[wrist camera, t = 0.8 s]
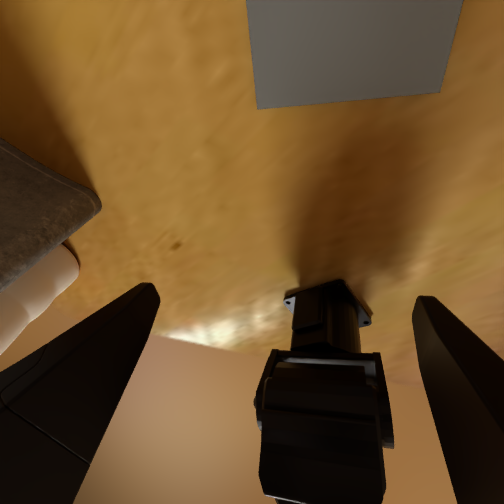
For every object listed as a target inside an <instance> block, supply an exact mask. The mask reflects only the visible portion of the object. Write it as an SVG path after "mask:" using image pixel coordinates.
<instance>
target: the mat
mask: <svg viewBox="0 0 504 504" xmlns="http://www.w3.org/2000/svg"><path fill="white" fill-rule="evenodd" d="M462 4H463V0H246V5H247V15H248V24H249V34H250V43H251V53H252V63H253V72H254V82H255V92H256V101H257V109H268V108H279V107H289V106H300V105H311V104H322V103H332V102H343V101H354V100H365V99H375V98H386V97H397V96H408V95H418V94H429V93H440V90H441V87H442V83H443V79H444V75H445V71H446V67H447V63H448V59H449V55H450V51H451V47H452V43H453V39H454V35H455V31H456V27H457V23H458V19H459V15H460V11H461V8H462Z"/></svg>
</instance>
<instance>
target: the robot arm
mask: <svg viewBox="0 0 504 504" xmlns="http://www.w3.org/2000/svg"><path fill="white" fill-rule="evenodd" d="M339 284H341V285H339ZM283 303H284V305H285V306H286V307H287V308H288V309H289V310H290V311H291V313H292V314H293V320H292V330H293V331H292V340H291V348H290V350H291V351H286V350H279V349H272V351H271V353H270V356H269V357H268V360H267V363H266V366H265V368H264V371H263V374H262V377H261V379H260V382H259V385H258V388H257V391H256V396H255V398H254V406H255V408H256V416H257V424H258V427H259V429H260V430H261V433H262V434H261V452H260V462H259V479H260V482H261V485H262V489H263V492H264V494H265V496H268V497H273V498H275V500H276V502H277V504H381V503H382V501H383V495H384V493H385V490H386V478H385V468H384V459H383V449H382V447H384V448H390V449H394V435H393V424H392V416H391V409H390V402H389V396H388V391H387V386H386V380H385V375H384V370H383V365H382V360H381V355H380V352H373V353H361V344H360V334H359V328H360V327H364V326H369V325H371V323H372V322H371V318H370V316H369V315H368V314H367V312H366V311H365V309H364V308H363V306H362V305H361V304H360V302H359V301H358V299H357V298H356V296H355V295H354V294H353V292H352V291H351V289H350V288H349V287H348V285H347V284H346V282H345V281H344V280H342V279H338V280H335V281H332V282H329V283H326V284H323V285H320V286H317V287H314V288H311V289H308V290H305V291H302V292H299V293H296V294H293V295H290V296H287V297H285V298H284V301H283ZM159 305H160V296H159V294H158V292H157V290H156V288H155V286H154V285H153V284H152V283H147V282H142V283H140V284H138V285H137V286H135V287H134V288H132V289H130V290H129V291H127V292H126V293H124V294H123V295H121V296H120V297H118V298H117V299H115V300H113V301H112V302H110V303H109V304H107V305H106V306H104V307H103V308H101V309H99V310H98V311H96V312H95V313H93V314H92V315H90V316H89V317H87V318H86V319H84V320H82V321H81V322H79V323H78V324H76V325H75V326H73V327H72V328H70V329H69V330H67V331H66V332H64V333H62V334H61V335H59V336H58V337H56V338H55V339H53V340H52V341H50V342H49V343H47V344H45V345H44V346H42V347H41V348H39V349H37V350H36V351H34V352H33V353H31V354H30V355H28V356H27V357H25V358H23V359H22V360H20V361H18V362H17V363H15V364H13V365H12V366H10V367H8V368H7V369H5V370H3V371H1V372H0V504H73V502H74V500H75V497H76V495H77V493H78V491H79V489H80V486H81V484H82V482H83V480H84V478H85V476H86V473H87V471H88V469H89V467H90V464H91V462H92V460H93V458H94V456H95V453H96V451H97V449H98V447H99V445H100V442H101V440H102V438H103V436H104V434H105V432H106V429H107V427H108V425H109V423H110V421H111V418H112V416H113V414H114V412H115V410H116V408H117V405H118V403H119V401H120V399H121V396H122V394H123V392H124V390H125V388H126V386H127V383H128V381H129V379H130V377H131V375H132V373H133V371H134V368H135V366H136V364H137V362H138V360H139V357H140V355H141V353H142V351H143V349H144V347H145V344H146V342H147V340H148V337H149V334H150V332H151V329H152V326H153V323H154V320H155V317H156V314H157V311H158V308H159ZM412 323H413V330H414V336H415V343H416V349H417V356H418V362H419V368H420V372H421V376H422V380H423V384H424V387H425V391H426V394H427V398H428V401H429V405H430V408H431V412H432V415H433V419H434V422H435V426H436V430H437V433H438V436H439V440H440V443H441V447H442V451H443V454H444V457H445V461H446V465H447V468H448V472H449V476H450V479H451V483H452V486H453V490H454V493H455V496H456V500H457V504H504V361H503V359H502V358H500V357H499V356H498V355H497V354H496V353H495V352H494V351H493V350H492V349H491V348H490V347H489V346H487V345H486V344H485V343H484V342H483V341H482V340H481V339H480V338H479V337H478V336H477V335H476V334H475V333H473V332H472V331H471V330H470V329H469V328H468V327H467V326H466V325H465V324H464V323H463V322H462V321H461V320H459V319H458V318H457V317H456V316H455V315H454V314H453V313H452V312H451V311H450V310H449V309H448V308H446V307H445V306H444V305H443V304H442V303H441V302H440V301H439V300H438V299H437V298H435V297H434V296H418V297H417V299H416V303H415V306H414V310H413V313H412Z"/></svg>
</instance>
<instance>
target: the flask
mask: <svg viewBox="0 0 504 504" xmlns="http://www.w3.org/2000/svg"><path fill="white" fill-rule="evenodd" d="M101 207H102V206H101V202H100V200H99V198H98V196H97V195H96V194H95V193H94V192H93V191H91V190H90V189H88V188H86V187H84V186H82V185H80V184H78V183H76V182H74V181H71V180H69V179H67V178H66V177H64V176H62V175H60V174H58V173H56V172H54V171H53V170H51V169H49V168H47V167H46V166H44V165H42V164H41V163H39V162H37V161H36V160H34V159H32V158H31V157H29V156H28V155H26V154H24V153H23V152H21V151H20V150H18V149H17V148H15V147H14V146H12V145H11V144H9V143H8V142H6V141H5V140H3V139H2V138H0V293H1V292H2V291H3V290H5V289H6V288H7V287H8V286H10V285H11V284H12V283H13V282H14V281H16V280H17V279H18V278H19V277H20V276H22V275H23V274H24V273H25V272H27V271H28V270H29V269H30V268H31V267H33V266H34V265H35V264H36V263H38V262H39V261H40V260H41V259H42V258H44V257H45V256H46V255H47V254H49V253H50V252H51V251H52V250H53V249H55V248H56V247H57V246H58V245H60V244H61V243H62V242H63V241H64V240H66V239H67V238H68V237H69V236H71V235H72V234H73V233H74V232H75V231H77V230H78V229H79V228H80V227H82V226H83V225H84V224H85V223H86V222H88V221H89V220H90V219H91V218H93V217H94V216H95V215H96V214H97V213H99V212H100V211H101Z"/></svg>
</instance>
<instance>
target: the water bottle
mask: <svg viewBox="0 0 504 504" xmlns="http://www.w3.org/2000/svg"><path fill="white" fill-rule="evenodd" d="M78 275H79V265H78V262H77V260H76V258H75V257H74V256H73V254H72V253H71V252H70V251H69V250H68V249H67V248H66V247H65V246H64V245H62V244H60V245H58V246H57V247H56V248H55V249H53V250H52V251H51V252H50V253H49V254H47V255H46V256H45V257H44V258H42V259H41V260H40V261H39V262H38V263H36V264H35V265H34V266H33V267H31V268H30V269H29V270H28V271H27V272H25V273H24V274H23V275H22V276H20V277H19V278H18V279H17V280H16V281H14V282H13V283H12V284H11V285H10V286H8V287H7V288H6V289H5V290H3V291H2V292H1V293H0V355H1V354H2V353H3V352H4V351H5V350H6V349H7V348H8V346H9V345H10V344H11V343H12V342H13V341H14V340H15V339H16V338H17V337H18V335H19V334H20V333H21V332H22V331H23V329H24V328H25V327H26V326H27V325H28V323H30V322H31V321H33V320H34V319H35V318H37V317H38V316H39V315H40V314H42V312H43V311H45V310H46V309H47V307H48V306H49V305H50V304H51V303H52V301H53V300H54V298H55V297H56V296H58V295H59V294H60V293H62V292H63V291H64V290H65V289H66V288H68V287H69V286H70V285H71V284H72V283H73V282H74V281H75V280H76V278H77V277H78Z"/></svg>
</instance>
